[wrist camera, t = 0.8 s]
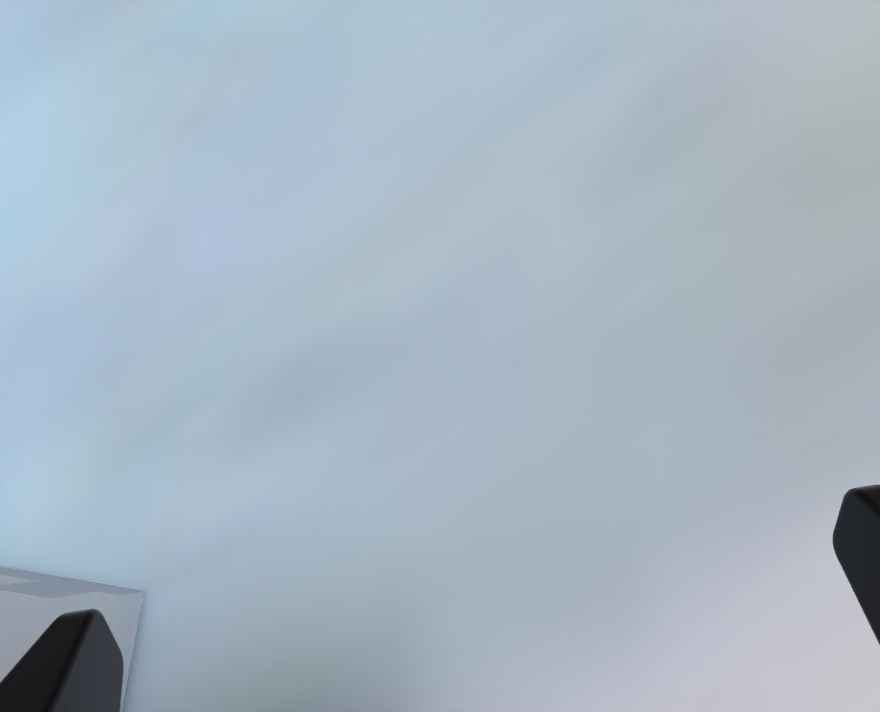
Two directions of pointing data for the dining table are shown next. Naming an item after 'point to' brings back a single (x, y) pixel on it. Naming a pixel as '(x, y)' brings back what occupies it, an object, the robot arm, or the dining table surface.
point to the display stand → (61, 612)
